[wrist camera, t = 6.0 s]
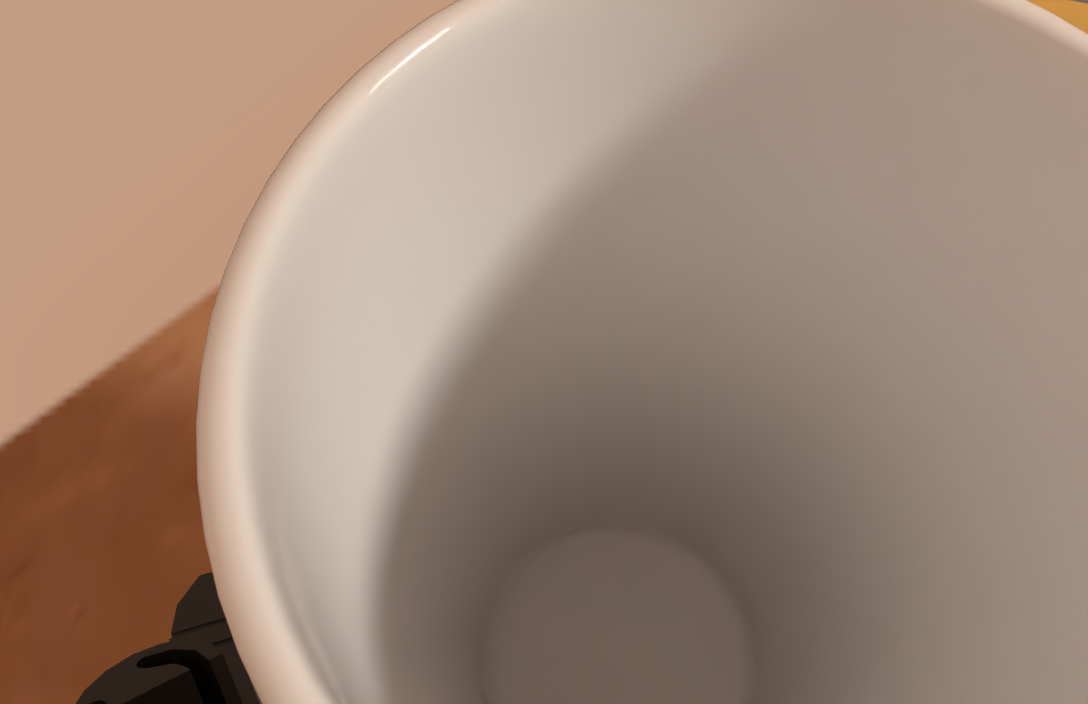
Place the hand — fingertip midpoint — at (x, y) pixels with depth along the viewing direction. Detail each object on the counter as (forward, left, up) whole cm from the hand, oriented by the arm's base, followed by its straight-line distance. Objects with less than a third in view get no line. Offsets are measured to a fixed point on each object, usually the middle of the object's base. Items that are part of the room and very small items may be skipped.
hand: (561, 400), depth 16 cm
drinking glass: (-2, +3, -6) cm, 7 cm away
